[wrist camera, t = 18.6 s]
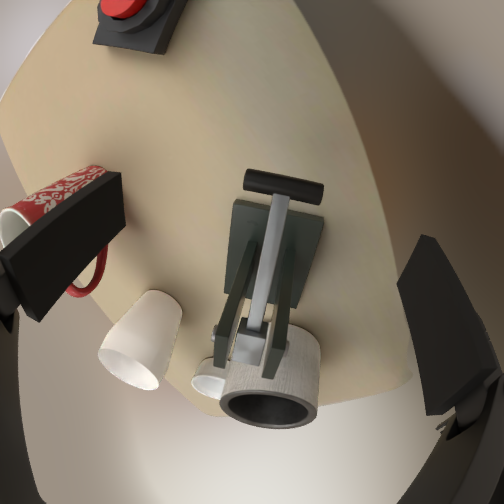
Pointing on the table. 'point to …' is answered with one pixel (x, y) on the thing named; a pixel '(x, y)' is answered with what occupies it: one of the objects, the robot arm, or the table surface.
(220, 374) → the ramekin
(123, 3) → the button
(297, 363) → the planter
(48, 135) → the table surface
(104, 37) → the switch block
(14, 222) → the mug
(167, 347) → the cup
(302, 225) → the lever bracket
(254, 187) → the switch lever
